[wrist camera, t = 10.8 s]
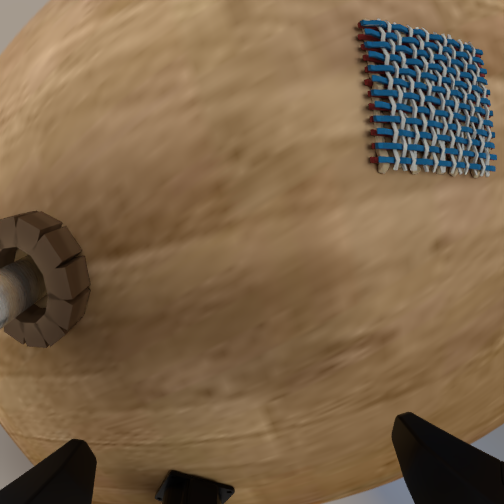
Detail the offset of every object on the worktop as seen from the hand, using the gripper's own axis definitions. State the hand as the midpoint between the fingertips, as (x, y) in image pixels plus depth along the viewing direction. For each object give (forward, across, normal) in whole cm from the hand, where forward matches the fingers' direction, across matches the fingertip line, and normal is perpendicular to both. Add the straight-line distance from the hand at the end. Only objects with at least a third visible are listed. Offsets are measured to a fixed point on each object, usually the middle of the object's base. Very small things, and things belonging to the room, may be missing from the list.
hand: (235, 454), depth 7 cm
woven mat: (+13, -14, -11) cm, 22 cm away
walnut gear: (+12, +14, -3) cm, 18 cm away
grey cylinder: (+12, +14, -3) cm, 18 cm away
